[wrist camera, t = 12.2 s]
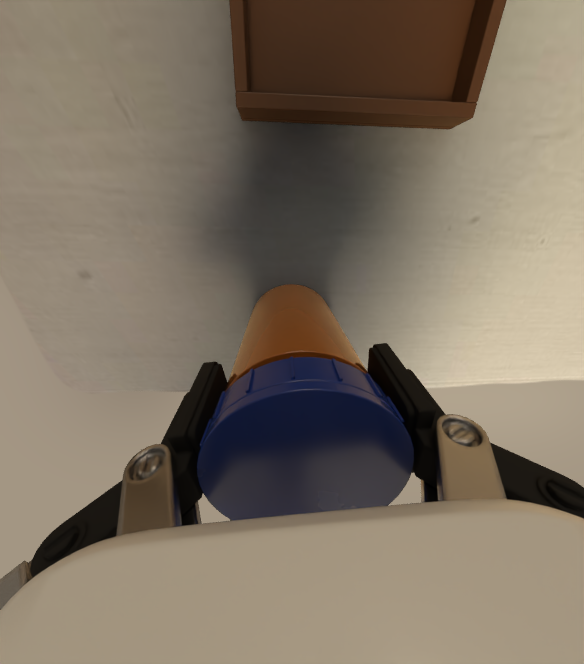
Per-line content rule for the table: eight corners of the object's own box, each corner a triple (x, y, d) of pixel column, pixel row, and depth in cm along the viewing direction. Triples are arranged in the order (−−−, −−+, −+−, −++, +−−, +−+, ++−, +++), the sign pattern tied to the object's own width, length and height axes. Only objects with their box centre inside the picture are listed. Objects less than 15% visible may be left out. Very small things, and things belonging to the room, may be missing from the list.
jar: (328, 357, 21) (382, 504, 10) (253, 360, 20) (222, 512, 9) (333, 283, 18) (416, 370, 7) (247, 284, 18) (192, 377, 7)
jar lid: (253, 504, 11) (248, 551, 9) (175, 390, 8) (149, 430, 6) (402, 467, 10) (424, 511, 8) (375, 328, 7) (400, 356, 6)
